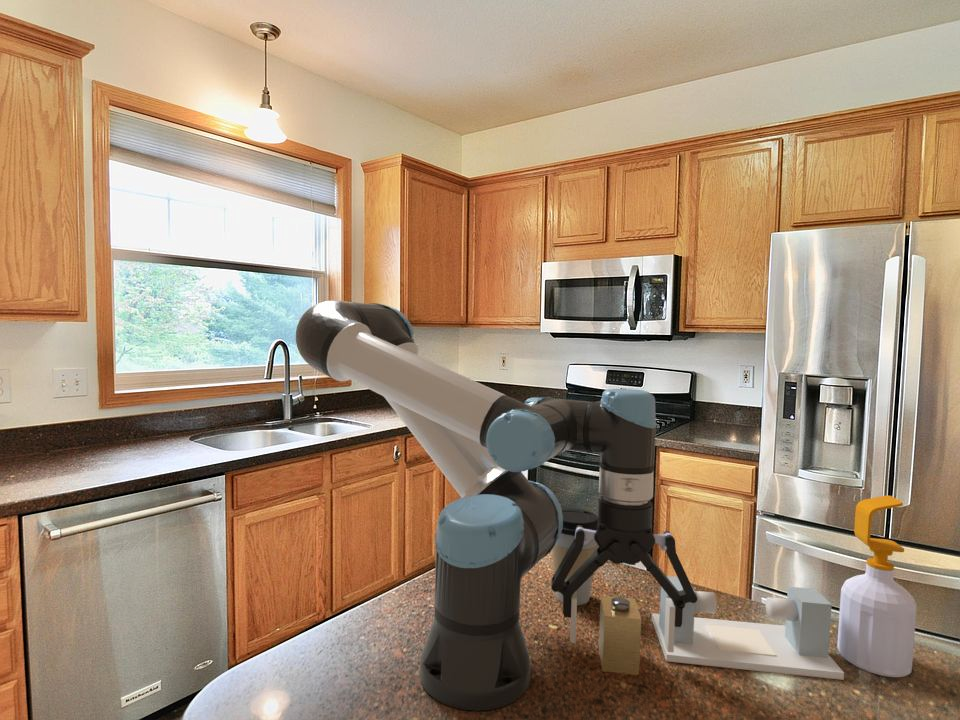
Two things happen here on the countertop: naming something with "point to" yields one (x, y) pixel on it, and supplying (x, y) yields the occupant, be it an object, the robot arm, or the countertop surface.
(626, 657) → the block
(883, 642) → the soap bottle
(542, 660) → the countertop surface
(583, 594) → the coffee cup
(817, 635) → the shaft rig
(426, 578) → the countertop surface
